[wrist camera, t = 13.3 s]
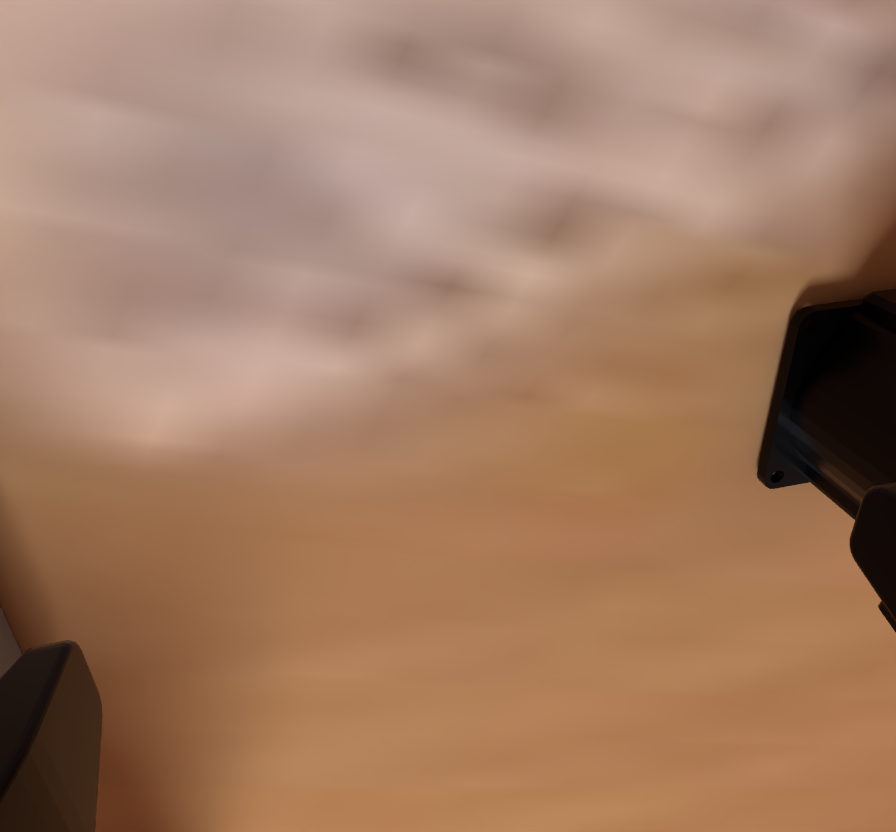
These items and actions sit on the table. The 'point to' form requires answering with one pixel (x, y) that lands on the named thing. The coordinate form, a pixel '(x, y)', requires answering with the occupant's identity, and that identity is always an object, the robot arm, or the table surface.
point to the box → (7, 646)
